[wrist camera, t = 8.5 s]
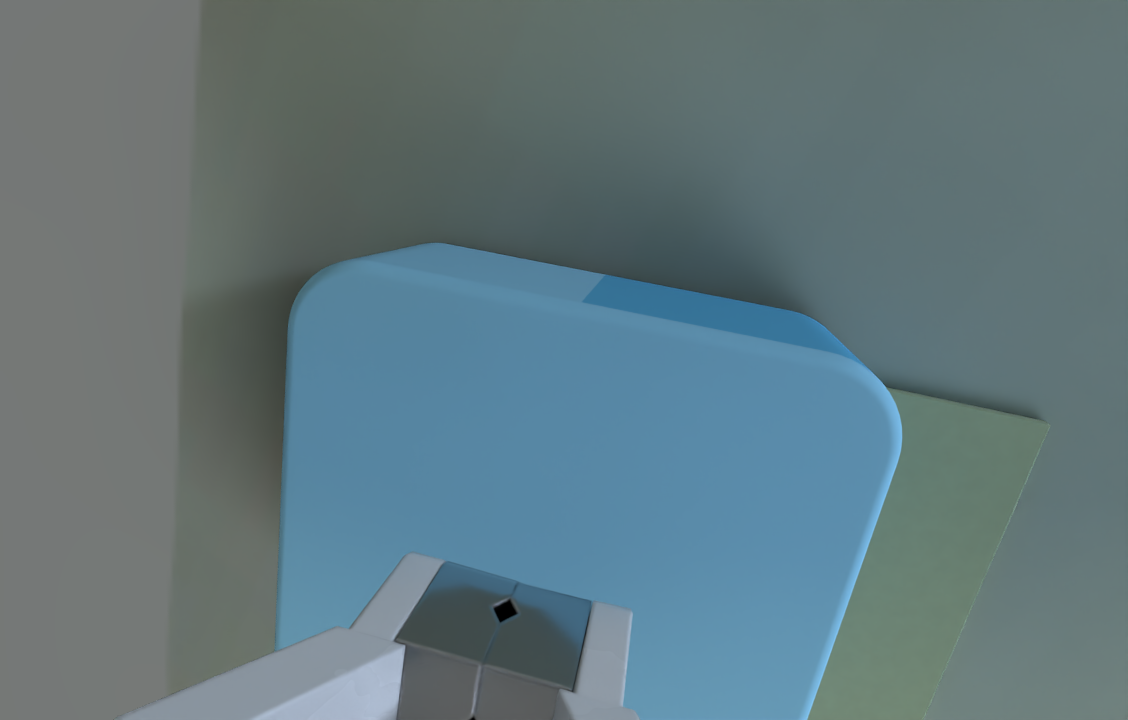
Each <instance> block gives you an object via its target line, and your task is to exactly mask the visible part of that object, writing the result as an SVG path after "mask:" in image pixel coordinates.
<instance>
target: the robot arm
mask: <svg viewBox="0 0 1128 720" xmlns="http://www.w3.org/2000/svg"><path fill="white" fill-rule="evenodd" d="M591 603H592V601H591V600H587V599H583V598H579V597H575V596H571V595H567V594H563V593H560V592H556V591H552V590H548V589H544V588H540V587H536V586H532V585H528V584H525V583H521V582H519V581H516V580H513V579H509V578H506V577H502V576H499V575H495V574H492V573H489V572H485V571H482V570H478V569H475V568H471V567H468V566H464V565H461V564H457V563H454V562H450V561H447V562H446V561H445V560H443V559H439V558H436V557H432V556H428V555H424V554H421V553H417V552H413V551H412V552H410V553H408V554H406V555H404V556H403V558H402V559H401V560H400V562H399V563H398V564H397V565H396V567H395V568H394V569H393V571H392V572H391V573H390V575H389V576H388V577H387V579H386V580H385V581H384V583H383V584H382V585H381V587H380V588H379V589H378V590H377V592H376V593H375V594H374V596H373V597H372V598H371V600H370V601H369V602H368V604H367V605H366V606H365V608H364V609H363V610H362V612H361V613H360V614H359V616H358V617H357V618H356V619H355V621H354V622H353V623H352V625H351V626H350V627H349V629H347V628H343V627H339V626H336V627H333V628H331V629H328V630H326V631H324V632H321V633H319V634H316V635H314V636H311V637H309V638H307V639H304V640H302V641H299V642H297V643H295V644H292V645H290V646H287V647H285V648H282V649H280V650H278V651H275V652H273V653H270V654H268V655H265V656H263V657H261V658H258V659H256V660H253V661H251V662H249V663H246V664H244V665H241V666H239V667H236V668H234V669H232V670H229V671H227V672H224V673H222V674H219V675H217V676H215V677H212V678H210V679H207V680H205V681H203V682H200V683H198V684H195V685H193V686H190V687H188V688H186V689H183V690H181V691H178V692H176V693H173V694H171V695H169V696H166V697H164V698H161V699H159V700H157V701H154V702H152V703H149V704H147V705H144V706H142V707H140V708H137V709H135V710H132V711H130V712H127V713H125V714H123V715H120V716H118V717H116V718H115V719H114V720H640V718H639V716H638V715H637V713H636V711H635V710H632V709H629V708H625V707H623V700H624V690H625V681H626V672H627V663H628V653H629V644H630V635H631V626H632V617H633V613H632V611H631V608H627V607H622V606H618V605H614V604H609V603H605V602H601V601H596V600H593V603H592V606H591ZM590 608H591V609H590ZM589 613H590V614H589Z"/></svg>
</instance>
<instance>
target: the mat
mask: <svg viewBox="0 0 1128 720" xmlns="http://www.w3.org/2000/svg"><path fill="white" fill-rule="evenodd" d="M886 388H887V387H886ZM887 390H888V391H889V392H890V394H891V396H892V398H893V400H894V402H895V403H896V406H897V409H898V412H899V415H900V419H901V425H902V446H901V452H900V456H899V460H898V463H897V466H896V469H895V472H894V474H893V477H892V480H891V483H890V486H889V489H888V492H887V494H886V497H885V500H884V503H883V506H882V509H881V511H880V514H879V517H878V520H877V523H876V526H875V528H874V531H873V534H872V537H871V540H870V543H869V546H868V548H867V551H866V554H865V557H864V560H863V563H862V565H861V568H860V571H859V574H858V577H857V580H856V582H855V585H854V588H853V591H852V594H851V597H850V599H849V602H848V605H847V608H846V611H845V614H844V617H843V619H842V622H841V625H840V628H839V631H838V634H837V636H836V639H835V642H834V645H833V648H832V651H831V653H830V656H829V659H828V662H827V665H826V668H825V671H824V673H823V676H822V679H821V682H820V685H819V688H818V690H817V693H816V696H815V699H814V702H813V705H812V707H811V710H810V713H809V716H808V719H807V720H924V717H925V715H926V713H927V711H928V708H929V706H930V704H931V701H932V699H933V697H934V694H935V692H936V690H937V687H938V685H939V683H940V680H941V678H942V676H943V673H944V671H945V669H946V666H947V664H948V662H949V660H950V657H951V655H952V653H953V650H954V648H955V646H956V643H957V641H958V639H959V636H960V634H961V632H962V629H963V627H964V625H965V622H966V620H967V618H968V616H969V613H970V611H971V609H972V606H973V604H974V602H975V599H976V597H977V595H978V592H979V590H980V588H981V585H982V583H983V581H984V578H985V576H986V574H987V571H988V569H989V567H990V565H991V562H992V560H993V558H994V555H995V553H996V551H997V548H998V546H999V544H1000V541H1001V539H1002V537H1003V534H1004V532H1005V530H1006V527H1007V525H1008V523H1009V520H1010V518H1011V516H1012V514H1013V511H1014V509H1015V507H1016V504H1017V502H1018V500H1019V497H1020V495H1021V493H1022V490H1023V488H1024V486H1025V483H1026V481H1027V479H1028V476H1029V474H1030V472H1031V469H1032V467H1033V465H1034V463H1035V460H1036V458H1037V456H1038V453H1039V451H1040V449H1041V446H1042V444H1043V442H1044V439H1045V437H1046V435H1047V432H1048V430H1049V428H1050V424H1048V423H1047V422H1045V421H1043V420H1038V419H1033V418H1029V417H1024V416H1019V415H1014V414H1010V413H1005V412H1000V411H996V410H991V409H986V408H982V407H977V406H972V405H967V404H963V403H958V402H953V401H949V400H944V399H939V398H934V397H930V396H925V395H920V394H916V393H911V392H906V391H902V390H897V389H892V388H887Z"/></svg>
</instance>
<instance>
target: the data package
mask: <svg viewBox="0 0 1128 720" xmlns="http://www.w3.org/2000/svg"><path fill="white" fill-rule="evenodd" d="M901 446H902V425H901V419H900V415H899V412H898V409H897V406H896V403H895V402H894V400H893V398H892V396H891V394H890V392H889V391H888V390H887V388H886V387H885V386H884V384H883V383H882V382H881V381H880V380H879V379H878V378H877V377H876V376H875V375H874V374H873V373H872V372H871V371H870V370H869V369H868V368H867V367H866V366H865V365H864V364H863V363H862V362H861V361H860V360H859V359H858V358H857V357H856V356H855V355H853V354H852V353H851V352H850V351H849V350H848V349H847V348H846V347H845V346H844V345H843V344H842V343H841V342H840V341H839V340H838V339H837V338H836V337H835V336H834V335H833V334H832V333H831V332H830V331H828V330H827V329H826V328H825V327H824V326H823V325H821V324H820V323H819V322H818V321H816V320H814V319H812V318H810V317H809V316H806V315H804V314H801V313H798V312H794V311H790V310H785V309H780V308H775V307H770V306H764V305H759V304H754V303H749V302H744V301H739V300H734V299H728V298H723V297H718V296H713V295H708V294H703V293H697V292H692V291H687V290H682V289H677V288H672V287H667V286H661V285H656V284H651V283H646V282H641V281H636V280H630V279H625V278H620V277H615V276H610V275H605V274H600V273H594V272H589V271H584V270H579V269H574V268H569V267H563V266H558V265H553V264H548V263H543V262H538V261H533V260H527V259H522V258H517V257H512V256H507V255H502V254H496V253H491V252H486V251H481V250H476V249H471V248H466V247H460V246H455V245H450V244H444V243H426V244H420V245H415V246H410V247H406V248H401V249H396V250H392V251H387V252H382V253H378V254H373V255H368V256H364V257H359V258H354V259H350V260H345V261H341V262H338V263H335V264H332V265H330V266H328V267H326V268H324V269H322V270H320V271H319V272H318V273H316V274H315V275H313V276H312V277H311V278H310V279H309V280H308V281H307V282H306V283H305V285H304V286H303V287H302V289H301V290H300V291H299V293H298V295H297V297H296V298H295V301H294V303H293V306H292V308H291V312H290V316H289V322H288V335H287V360H286V384H285V408H284V433H283V457H282V482H281V506H280V531H279V555H278V580H277V604H276V629H275V651H278V650H280V649H282V648H285V647H287V646H290V645H292V644H295V643H297V642H299V641H302V640H304V639H307V638H309V637H311V636H314V635H316V634H319V633H321V632H324V631H326V630H328V629H331V628H333V627H336V626H339V627H343V628H347V629H349V627H350V626H351V625H352V623H353V622H354V621H355V619H356V618H357V617H358V616H359V614H360V613H361V612H362V610H363V609H364V608H365V606H366V605H367V604H368V602H369V601H370V600H371V598H372V597H373V596H374V594H375V593H376V592H377V590H378V589H379V588H380V587H381V585H382V584H383V583H384V581H385V580H386V579H387V577H388V576H389V575H390V573H391V572H392V571H393V569H394V568H395V567H396V565H397V564H398V563H399V562H400V560H401V559H402V558H403V556H404V555H406V554H408V553H410V552H412V551H413V552H417V553H421V554H424V555H428V556H432V557H436V558H439V559H443V560H445V561H446V562H447V561H450V562H454V563H457V564H461V565H464V566H468V567H471V568H475V569H478V570H482V571H485V572H489V573H492V574H495V575H499V576H502V577H506V578H509V579H513V580H516V581H519V582H521V583H525V584H528V585H532V586H536V587H540V588H544V589H548V590H552V591H556V592H560V593H563V594H567V595H571V596H575V597H579V598H583V599H587V600H591V601H592V603H593V600H596V601H601V602H605V603H609V604H614V605H618V606H622V607H627V608H631V611H632V613H633V617H632V626H631V635H630V644H629V653H628V663H627V672H626V681H625V690H624V700H623V707H625V708H629V709H632V710H635V711H636V713H637V715H638V716H639V718H640V720H807V719H808V716H809V713H810V710H811V707H812V705H813V702H814V699H815V696H816V693H817V690H818V688H819V685H820V682H821V679H822V676H823V673H824V671H825V668H826V665H827V662H828V659H829V656H830V653H831V651H832V648H833V645H834V642H835V639H836V636H837V634H838V631H839V628H840V625H841V622H842V619H843V617H844V614H845V611H846V608H847V605H848V602H849V599H850V597H851V594H852V591H853V588H854V585H855V582H856V580H857V577H858V574H859V571H860V568H861V565H862V563H863V560H864V557H865V554H866V551H867V548H868V546H869V543H870V540H871V537H872V534H873V531H874V528H875V526H876V523H877V520H878V517H879V514H880V511H881V509H882V506H883V503H884V500H885V497H886V494H887V492H888V489H889V486H890V483H891V480H892V477H893V474H894V472H895V469H896V466H897V463H898V460H899V456H900V452H901ZM592 603H591V606H592ZM590 609H591V608H590ZM589 614H590V613H589Z"/></svg>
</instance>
